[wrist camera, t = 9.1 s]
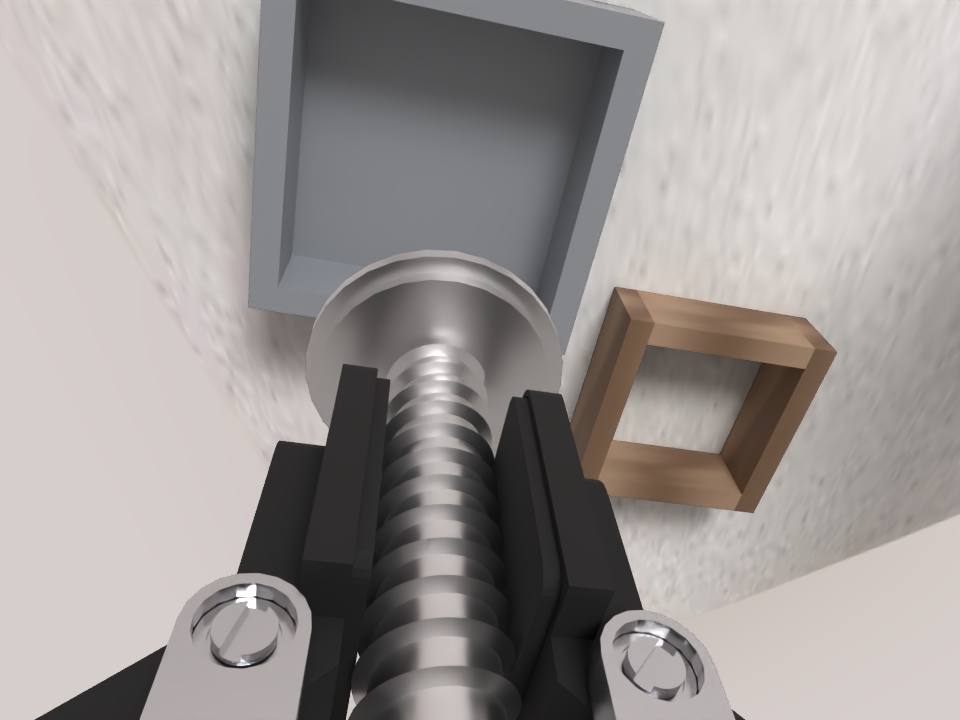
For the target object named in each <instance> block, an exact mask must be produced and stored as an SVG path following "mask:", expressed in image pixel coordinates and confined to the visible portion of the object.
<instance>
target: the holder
mask: <svg viewBox="0 0 960 720" xmlns="http://www.w3.org/2000/svg"><path fill="white" fill-rule="evenodd" d="M647 345H653V346H660V347H666V348H673V349H679V350H686V351H692V352H699V353H705V354H711V355H718V356H724V357H731V358H737V359H744V360H750V361H757V362H763V364H762V366H761V368H760V370H759V372H758V374H757V377H756V379H755V381H754V383H753V385H752V387H751V389H750V392H749V394H748V396H747V398H746V400H745V402H744V405H743V407H742V409H741V411H740V413H739V415H738V417H737V420H736V422H735V424H734V426H733V428H732V430H731V432H730V435H729V437H728V439H727V441H726V443H725V445H724V447H723V450H722V452H721V454H713V453H705V452H698V451H690V450H683V449H675V448H668V447H660V446H653V445H645V444H638V443H630V442H623V441H615V440H612V439H613V437H614V434H615V431H616V428H617V426H618V423H619V420H620V417H621V415H622V412H623V409H624V406H625V404H626V401H627V398H628V396H629V393H630V390H631V387H632V385H633V382H634V379H635V376H636V374H637V371H638V368H639V365H640V363H641V360H642V357H643V355H644V352H645V349H646V346H647ZM836 354H837V351H836V350H835V349H834V348H833V347H832V346H831V345H830V344H829V343H828V342H827V341H826V340H825V338H824V337H823V336H822V335H821V334H820V333H819V332H818V331H817V330H816V329H815V328H814V327H813V326H812V325H811V324H810V323H809V322H808V320H807V319H806V318H800V317H794V316H788V315H782V314H776V313H770V312H764V311H758V310H752V309H746V308H740V307H734V306H728V305H722V304H716V303H710V302H704V301H698V300H692V299H686V298H680V297H674V296H667V295H661V294H655V293H649V292H643V291H637V290H631V289H625V288H619V287H615V289H614V292H613V295H612V298H611V301H610V304H609V307H608V310H607V313H606V316H605V319H604V322H603V325H602V329H601V332H600V335H599V338H598V341H597V344H596V347H595V350H594V353H593V356H592V359H591V362H590V366H589V369H588V372H587V375H586V378H585V381H584V384H583V387H582V390H581V393H580V396H579V399H578V403H577V406H576V409H575V412H574V415H573V418H572V421H571V424H570V426H571V430H572V433H573V437H574V441H575V444H576V448H577V452H578V455H579V459H580V463H581V466H582V470H583V474H584V477H585V478H587V479H595V480H600V481H601V482H603V483H604V486H605V488H606V490H607V493H608V495H610V496H618V497H626V498H634V499H642V500H651V501H659V502H667V503H675V504H684V505H692V506H700V507H708V508H716V509H725V510H733V511H741V512H749V513H754V511H755V509H756V507H757V505H758V503H759V501H760V499H761V498H762V496H763V494H764V492H765V490H766V488H767V486H768V484H769V482H770V480H771V478H772V476H773V475H774V473H775V471H776V469H777V467H778V465H779V463H780V461H781V459H782V457H783V455H784V454H785V452H786V450H787V448H788V446H789V444H790V442H791V440H792V438H793V436H794V434H795V432H796V431H797V429H798V427H799V425H800V423H801V421H802V419H803V417H804V415H805V413H806V411H807V409H808V408H809V406H810V404H811V402H812V400H813V398H814V396H815V394H816V392H817V390H818V388H819V386H820V385H821V383H822V381H823V379H824V377H825V375H826V373H827V371H828V369H829V367H830V365H831V364H832V362H833V360H834V358H835V356H836Z"/></svg>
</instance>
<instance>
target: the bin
mask: <svg viewBox="0 0 960 720" xmlns="http://www.w3.org/2000/svg"><path fill="white" fill-rule="evenodd" d="M664 23H665V22H662V21H660V20H658V19H655V18H653V17H650V16H648V15H646V14H643V13H641V12H638V11H636V10H633V9H629V8H624V7H620V6H615V5H611V4H607V3H602V2H598V1H593V0H261V14H260V38H259V62H258V86H257V109H256V133H255V157H254V181H253V204H252V228H251V252H250V275H249V299H248V308H254V309H260V310H267V311H274V312H280V313H287V314H294V315H300V316H307V317H314V318H317V317H318V315H319V313H320V311H321V310H322V308H323V306H324V304H325V303H326V301H327V299H328V298H329V297H330V296H331V295H332V294H333V293H334V292H335V291H336V290H337V289H338V288H339V287H340V286H341V284H342V283H343V282H344V281H345V280H347V279H348V278H350V277H351V276H353V275H354V274H356V273H357V272H359V271H360V270H362V269H363V268H365V267H366V266H368V265H370V264H372V263H375V262H378V261H380V260H383V259H385V258H388V257H391V256H393V255H396V254H401V253H408V252H414V251H420V250H444V251H457V252H461V253H465V254H469V255H473V256H477V257H481V258H485V259H487V260H489V261H491V262H493V263H495V264H497V265H499V266H501V267H503V268H505V269H507V270H509V271H510V272H512V273H513V274H514V275H515V276H517V277H518V278H519V279H520V280H521V281H523V282H524V283H525V284H526V285H528V286H529V287H530V288H531V289H532V290H533V292H534V293H535V294H536V295H537V297H538V298H539V299H540V301H541V302H542V303H543V304H544V306H545V307H546V308H547V311H548V313H549V315H550V317H551V320H552V322H553V324H554V326H555V329H556V331H557V334H558V338H559V343H560V349H561V355H565V352H566V349H567V345H568V342H569V339H570V335H571V332H572V329H573V325H574V322H575V319H576V315H577V312H578V309H579V305H580V302H581V299H582V295H583V292H584V289H585V286H586V282H587V279H588V276H589V272H590V269H591V266H592V262H593V259H594V256H595V252H596V249H597V246H598V242H599V239H600V236H601V232H602V229H603V226H604V222H605V219H606V216H607V213H608V209H609V206H610V203H611V199H612V196H613V193H614V189H615V186H616V183H617V179H618V176H619V173H620V169H621V166H622V163H623V159H624V156H625V153H626V149H627V146H628V143H629V140H630V136H631V133H632V130H633V126H634V123H635V120H636V116H637V113H638V110H639V106H640V103H641V100H642V96H643V93H644V90H645V86H646V83H647V80H648V76H649V73H650V70H651V67H652V63H653V60H654V57H655V53H656V50H657V47H658V43H659V40H660V37H661V33H662V30H663V27H664Z"/></svg>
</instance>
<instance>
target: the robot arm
mask: <svg viewBox="0 0 960 720" xmlns="http://www.w3.org/2000/svg"><path fill="white" fill-rule="evenodd" d="M377 373H378V368H372V367H365V366H357V365H350V364H343V366H342V371H341V375H340V380H339V385H338V390H337V394H336V399H335V404H334V409H333V413H332V418H331V423H330V428H329V433H328V437H327V442H326V446H319V445H311V444H303V443H295V442H286V441H279V442H278V443H277V445H276V448H275V451H274V454H273V458H272V461H271V464H270V467H269V471H268V474H267V477H266V480H265V484H264V487H263V490H262V494H261V497H260V500H259V503H258V507H257V510H256V513H255V517H254V520H253V523H252V526H251V530H250V533H249V536H248V540H247V543H246V546H245V549H244V552H243V556H242V559H241V562H240V566H239V569H238V572H237V574H235V575H232V576H228V577H224V578H220V579H218V580H216V581H214V582H212V583H210V584H208V585H206V586H205V587H203V588H201V589H200V590H199V591H198V592H197V593H195V594H194V595H193V596H192V597H191V598H190V599H189V600H188V601H187V602H186V604H185V605H184V607H183V609H182V611H181V612H180V614H179V616H178V617H177V620H176V623H175V626H174V628H173V631H172V634H171V636H170V639H169V642H168V644H167V645H166V646H164V647H162V648H161V649H159V650H157V651H155V652H154V653H152V654H150V655H148V656H147V657H145V658H143V659H141V660H139V661H138V662H136V663H134V664H133V665H131V666H129V667H127V668H125V669H123V670H122V671H120V672H118V673H116V674H115V675H113V676H111V677H109V678H108V679H106V680H104V681H102V682H101V683H99V684H97V685H96V686H93V687H92V688H90V689H88V690H86V691H85V692H83V693H81V694H79V695H77V696H76V697H74V698H72V699H70V700H69V701H67V702H65V703H63V704H62V705H60V706H58V707H56V708H55V709H53V710H51V711H49V712H48V713H46V714H44V715H43V716H40V717H39V718H37V719H35V720H346V715H347V709H348V704H349V698H350V692H351V679H352V673H353V670H354V668H355V664H356V658H357V652H358V647H359V641H360V635H361V629H362V624H363V618H364V612H365V607H366V601H367V595H368V589H369V584H370V577H371V571H372V563H373V555H374V546H375V536H376V526H377V516H378V505H379V495H380V484H381V474H382V464H383V453H384V443H385V433H386V422H387V412H388V402H389V391H390V379H384V378H377ZM494 461H495V465H494V470H493V472H494V474H495V477H496V480H497V493H496V497H495V498H496V500H497V502H498V504H499V508H500V521H499V524H498V528H499V529H500V531H501V533H502V536H503V541H504V548H503V552H502V555H501V558H500V559H501V560H502V562H503V563H504V565H505V568H506V570H507V576H508V578H507V584H506V587H505V590H504V592H503V595H504V596H505V598H506V599H507V601H508V602H509V604H510V608H511V611H512V619H511V622H510V624H509V627H508V629H507V632H506V633H505V635H506V636H507V637H508V638H509V639H510V640H511V642H512V643H513V645H514V647H515V650H516V662H515V665H514V667H513V670H512V672H511V674H510V675H509V676H508V677H507V678H506V679H507V680H508V681H509V682H511V683H512V684H513V685H514V687H515V688H516V689H517V690H518V692H519V694H520V696H521V701H522V705H521V711H520V713H519V716H518V717H517V719H516V720H745V719H743V718H742V717H741V716H739V715H738V714H737V713H736V712H735V711H733V710H732V709H731V706H730V704H729V701H728V699H727V696H726V693H725V691H724V688H723V686H722V683H721V680H720V678H719V675H718V672H717V670H716V667H715V664H714V662H713V661H712V659H711V657H710V655H709V653H708V651H707V649H706V648H705V647H704V645H703V644H702V643H701V642H700V641H699V640H698V638H697V637H696V636H695V635H694V634H693V633H692V632H690V631H689V630H688V629H686V628H685V627H684V626H682V625H681V624H680V623H678V622H677V621H675V620H673V619H670V618H668V617H666V616H664V615H662V614H659V613H654V612H650V611H646V610H643V608H642V604H641V601H640V598H639V595H638V591H637V588H636V585H635V582H634V578H633V575H632V572H631V568H630V565H629V562H628V559H627V555H626V552H625V549H624V546H623V542H622V539H621V536H620V532H619V529H618V526H617V523H616V519H615V516H614V513H613V510H612V506H611V503H610V500H609V496H608V493H607V490H606V488H605V486H604V483H603V482H601V481H600V480H595V479H587V478H585V477H584V474H583V470H582V466H581V463H580V459H579V455H578V452H577V448H576V444H575V441H574V437H573V433H572V430H571V426H570V422H569V419H568V415H567V411H566V408H565V404H564V400H563V397H562V395H561V394H557V393H550V392H543V391H536V390H529V389H527V390H526V391H525V392H524V394H523V397H522V398H521V397H514V396H513V397H512V398H511V400H510V403H509V407H508V411H507V414H506V418H505V422H504V426H503V429H502V433H501V437H500V441H499V444H498V448H497V452H496V456H495V459H494Z"/></svg>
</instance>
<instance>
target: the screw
mask: <svg viewBox="0 0 960 720" xmlns="http://www.w3.org/2000/svg"><path fill="white" fill-rule="evenodd" d="M343 364H350V365H357V366H365V367H372V368H378V373H377V378H384V379H390V391H389V402H388V412H387V422H386V433H385V443H384V453H383V464H382V474H381V484H380V495H379V505H378V516H377V526H376V536H375V546H374V555H373V563H372V571H371V577H370V584H369V589H368V595H367V601H366V607H365V612H364V618H363V624H362V629H361V635H360V641H359V647H358V654H359V656H360V658H359V660H358V661H357V663H356V665H355V668H354V670H353V673H352V679H351V690H352V695H353V698H354V701H355V703H356V705H357V706H356V707H355V708H354V709H353V711H352V713H351V715H350V717H349V719H348V720H516V719H517V717H518V716H519V713H520V711H521V705H522V701H521V696H520V694H519V692H518V690H517V689H516V688H515V687H514V685H513V684H512V683H511V682H509V681H508V680H507V679H506V678H507V677H508V676H509V675H510V674H511V672H512V670H513V667H514V665H515V662H516V650H515V647H514V645H513V643H512V642H511V640H510V639H509V638H508V637H507V636H506V635H505V633H506V632H507V629H508V627H509V624H510V622H511V619H512V611H511V608H510V604H509V602H508V601H507V599H506V598H505V596H504V595H503V592H504V590H505V587H506V584H507V578H508V576H507V570H506V568H505V565H504V563H503V562H502V560H501V559H500V558H501V555H502V552H503V548H504V541H503V536H502V533H501V531H500V529H499V528H498V524H499V521H500V508H499V504H498V502H497V500H496V498H495V497H496V493H497V480H496V477H495V474H494V472H493V470H494V465H495V461H494V459H495V456H496V452H497V448H498V444H499V441H500V437H501V433H502V429H503V426H504V422H505V418H506V414H507V411H508V407H509V403H510V400H511V398H512V397H513V396H514V397H521V398H522V397H523V394H524V392H525V391H526V390H527V389H529V390H536V391H543V392H550V393H557V394H558V391H559V388H560V386H561V375H562V364H563V361H562V355H561V349H560V343H559V338H558V334H557V331H556V329H555V326H554V324H553V322H552V320H551V317H550V315H549V313H548V311H547V308H546V307H545V306H544V304H543V303H542V302H541V301H540V299H539V298H538V297H537V295H536V294H535V293H534V292H533V290H532V289H531V288H530V287H529V286H528V285H526V284H525V283H524V282H523V281H521V280H520V279H519V278H518V277H517V276H515V275H514V274H513V273H512V272H510V271H509V270H507V269H505V268H503V267H501V266H499V265H497V264H495V263H493V262H491V261H489V260H487V259H485V258H481V257H477V256H473V255H469V254H465V253H461V252H457V251H444V250H420V251H414V252H408V253H401V254H396V255H393V256H391V257H388V258H385V259H383V260H380V261H378V262H375V263H372V264H370V265H368V266H366V267H365V268H363V269H362V270H360V271H359V272H357V273H356V274H354V275H353V276H351V277H350V278H348V279H347V280H345V281H344V282H343V283H342V284H341V286H340V287H339V288H338V289H337V290H336V291H335V292H334V293H333V294H332V295H331V296H330V297H329V298H328V299H327V301H326V303H325V304H324V306H323V308H322V310H321V311H320V313H319V315H318V317H317V318H316V320H315V322H314V325H313V329H312V332H311V336H310V340H309V343H308V347H307V351H306V380H307V384H308V388H309V392H310V396H311V400H312V402H313V404H314V405H315V407H316V409H317V411H318V413H319V415H320V417H321V418H322V420H323V422H324V423H325V424H326V425H327V426H328V428H330V423H331V418H332V413H333V409H334V404H335V399H336V394H337V390H338V385H339V380H340V375H341V371H342V366H343Z"/></svg>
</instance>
